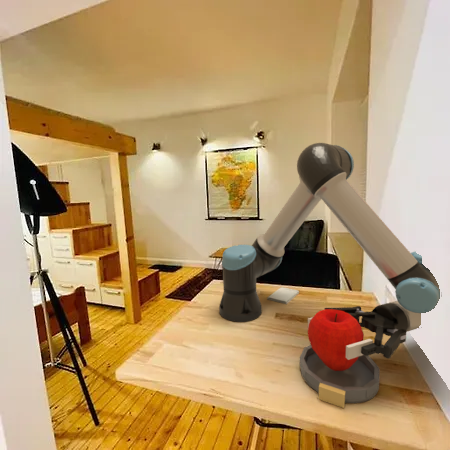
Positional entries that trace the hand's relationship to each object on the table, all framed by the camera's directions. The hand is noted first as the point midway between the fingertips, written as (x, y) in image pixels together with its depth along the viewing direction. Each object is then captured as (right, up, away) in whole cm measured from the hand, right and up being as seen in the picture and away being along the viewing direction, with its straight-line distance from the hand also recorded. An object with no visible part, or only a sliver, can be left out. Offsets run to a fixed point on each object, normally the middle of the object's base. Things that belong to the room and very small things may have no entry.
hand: (326, 337), depth 61 cm
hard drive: (+1, -4, +48) cm, 48 cm away
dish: (+4, -10, +3) cm, 11 cm away
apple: (+3, -8, +2) cm, 9 cm away
